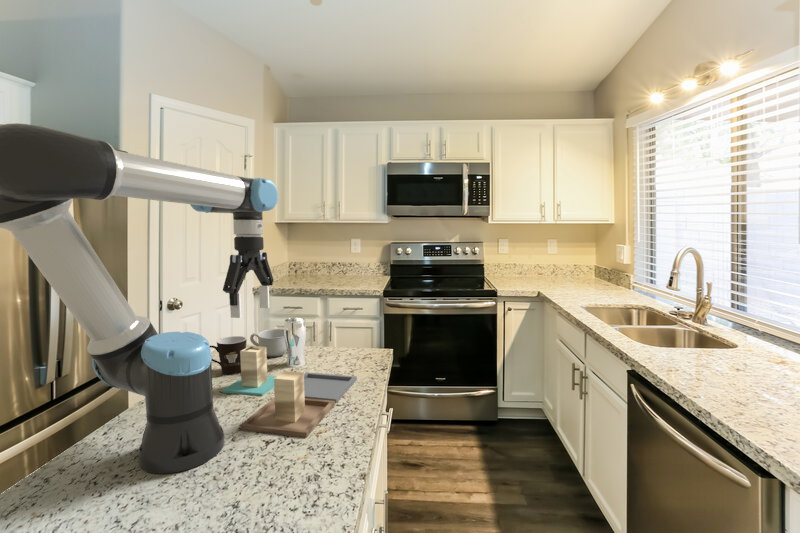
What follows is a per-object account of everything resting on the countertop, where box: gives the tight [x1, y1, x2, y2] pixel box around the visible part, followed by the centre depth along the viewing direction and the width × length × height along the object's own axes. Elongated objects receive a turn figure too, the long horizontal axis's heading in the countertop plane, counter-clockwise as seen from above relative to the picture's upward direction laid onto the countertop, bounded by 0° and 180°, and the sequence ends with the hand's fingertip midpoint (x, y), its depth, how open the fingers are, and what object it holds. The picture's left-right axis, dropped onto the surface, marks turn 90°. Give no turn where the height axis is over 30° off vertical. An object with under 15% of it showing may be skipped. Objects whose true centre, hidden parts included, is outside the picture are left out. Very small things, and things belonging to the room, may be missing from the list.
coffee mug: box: [209, 335, 247, 376], centre depth 125 cm, size 12×9×10 cm
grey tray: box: [304, 371, 358, 404], centre depth 111 cm, size 16×16×1 cm
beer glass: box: [283, 316, 307, 368], centre depth 131 cm, size 7×7×15 cm
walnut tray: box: [239, 397, 336, 438], centre depth 95 cm, size 16×16×1 cm
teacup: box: [249, 328, 287, 358], centre depth 142 cm, size 14×11×8 cm
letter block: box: [240, 345, 268, 387], centre depth 113 cm, size 5×5×10 cm
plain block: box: [273, 370, 305, 422], centre depth 94 cm, size 5×5×10 cm
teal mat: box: [222, 375, 278, 397], centre depth 113 cm, size 12×12×1 cm
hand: (251, 312), depth 111 cm, fingers open, 13 cm apart
